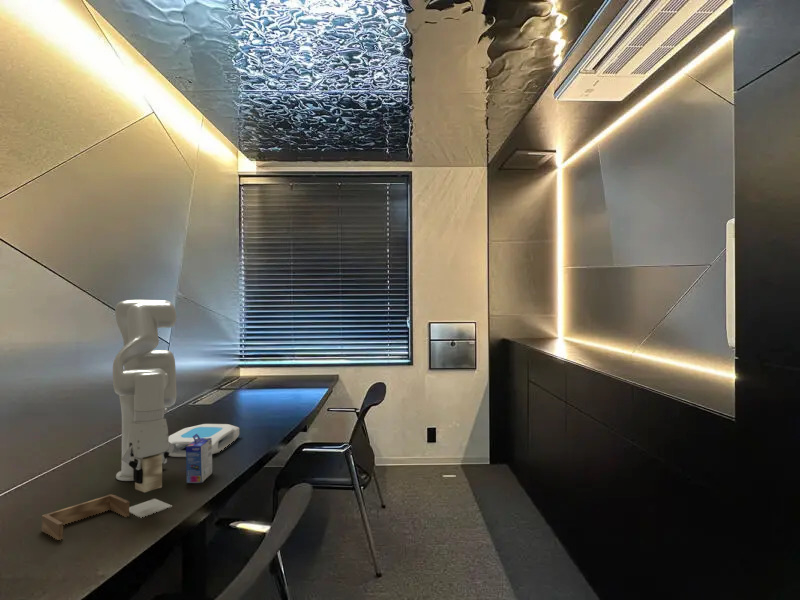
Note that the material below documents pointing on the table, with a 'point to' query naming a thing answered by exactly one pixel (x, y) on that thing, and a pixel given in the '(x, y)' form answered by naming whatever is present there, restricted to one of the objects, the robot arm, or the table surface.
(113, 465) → the table surface
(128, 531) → the table surface
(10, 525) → the table surface
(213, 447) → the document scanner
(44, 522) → the u-shaped frame
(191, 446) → the ink cartridge box
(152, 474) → the block
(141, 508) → the mat
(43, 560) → the table surface
